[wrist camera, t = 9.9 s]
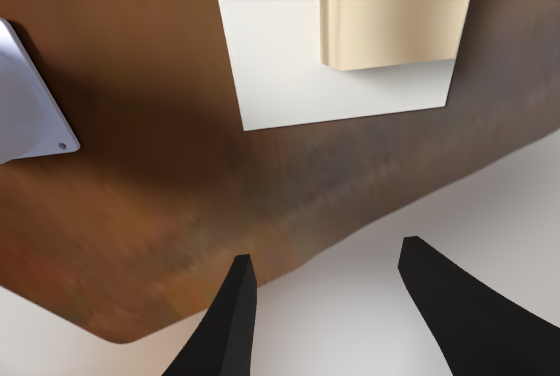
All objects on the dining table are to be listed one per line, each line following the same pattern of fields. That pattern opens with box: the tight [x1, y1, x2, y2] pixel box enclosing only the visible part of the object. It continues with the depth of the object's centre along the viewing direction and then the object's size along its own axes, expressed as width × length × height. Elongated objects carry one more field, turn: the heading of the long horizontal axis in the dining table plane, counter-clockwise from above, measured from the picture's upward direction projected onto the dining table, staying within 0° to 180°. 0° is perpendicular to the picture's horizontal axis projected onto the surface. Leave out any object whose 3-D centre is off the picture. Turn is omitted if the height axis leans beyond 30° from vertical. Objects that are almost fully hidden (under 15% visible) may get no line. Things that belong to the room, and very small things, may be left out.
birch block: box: [320, 0, 469, 71], centre depth 11 cm, size 5×5×5 cm
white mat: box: [219, 0, 470, 131], centre depth 14 cm, size 14×12×1 cm
